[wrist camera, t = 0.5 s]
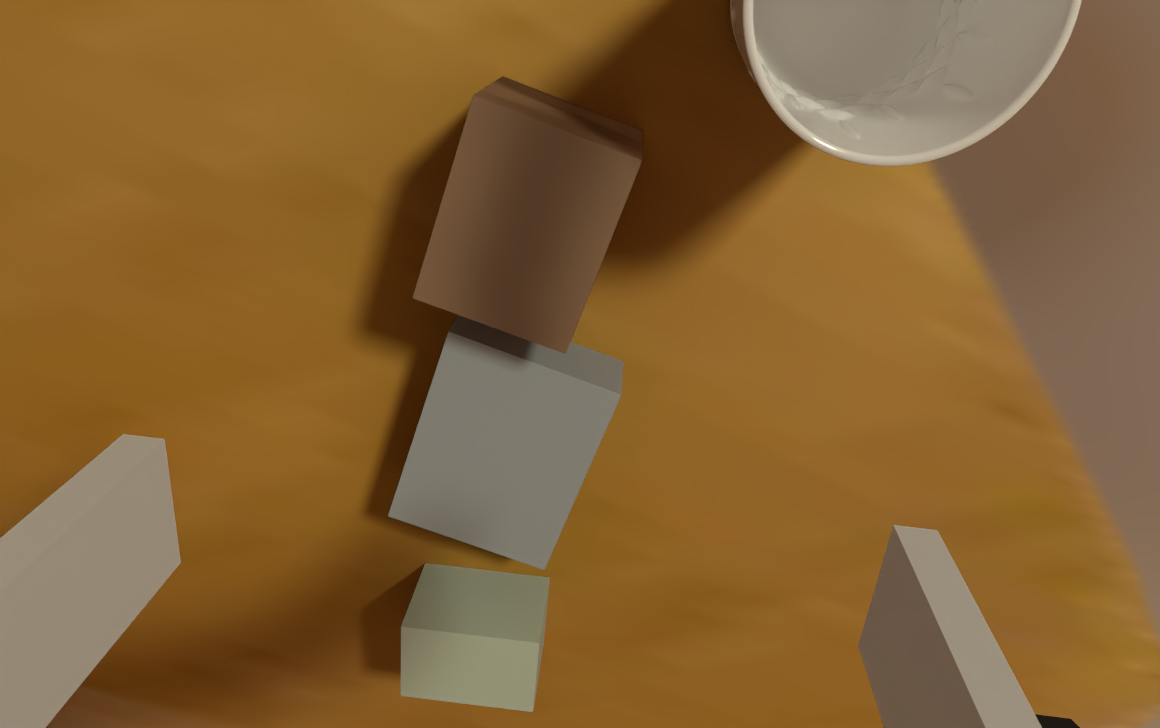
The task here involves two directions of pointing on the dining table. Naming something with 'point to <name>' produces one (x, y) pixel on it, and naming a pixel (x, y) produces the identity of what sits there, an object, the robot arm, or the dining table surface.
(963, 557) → the dining table surface
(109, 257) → the dining table surface
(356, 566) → the dining table surface
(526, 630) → the sage block
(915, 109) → the white cup
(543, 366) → the grey slab
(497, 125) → the walnut block
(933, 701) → the robot arm
